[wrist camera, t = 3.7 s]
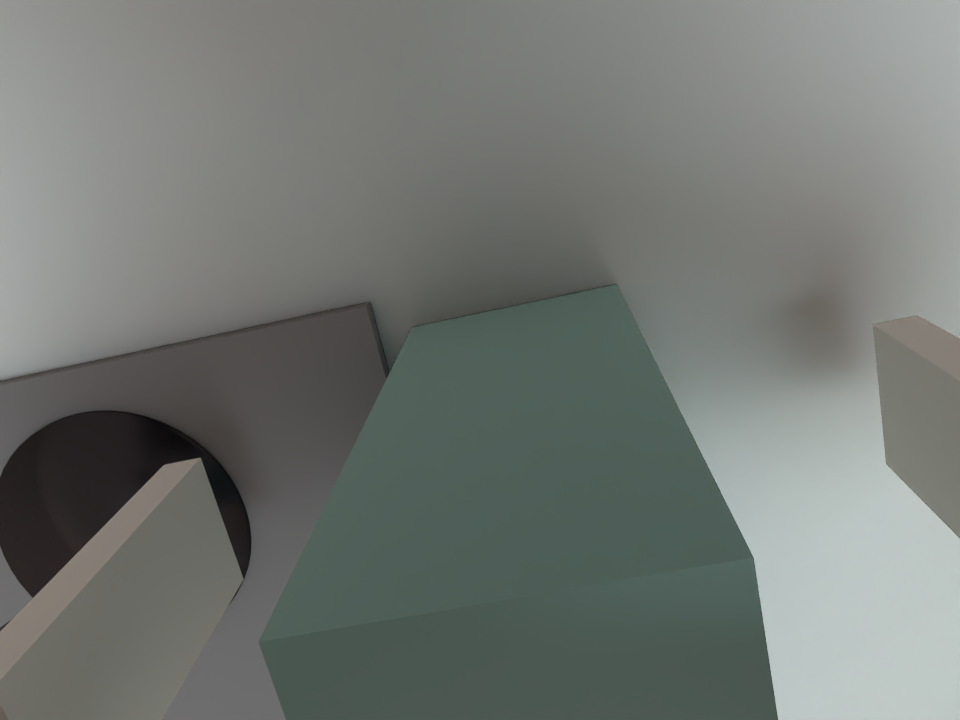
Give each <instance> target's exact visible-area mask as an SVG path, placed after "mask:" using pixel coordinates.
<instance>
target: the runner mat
mask: <svg viewBox="0 0 960 720" xmlns="http://www.w3.org/2000/svg"><path fill="white" fill-rule="evenodd" d="M388 375H389V371H388V367H387V364H386V360H385V356H384V353H383V349H382V345H381V342H380V338H379V334H378V331H377V327H376V323H375V320H374V316H373V312H372V309H371V305H370V302H367V303H362V304H358V305H353V306H348V307H344V308H339V309H335V310H330V311H325V312H321V313H316V314H311V315H307V316H302V317H297V318H293V319H288V320H283V321H279V322H274V323H270V324H265V325H260V326H256V327H251V328H246V329H242V330H237V331H232V332H228V333H223V334H219V335H214V336H209V337H205V338H200V339H195V340H191V341H186V342H181V343H177V344H172V345H167V346H163V347H158V348H154V349H149V350H144V351H140V352H135V353H130V354H126V355H121V356H116V357H112V358H107V359H103V360H98V361H93V362H89V363H84V364H79V365H75V366H70V367H65V368H61V369H56V370H52V371H47V372H42V373H38V374H33V375H28V376H24V377H19V378H14V379H10V380H5V381H0V476H1V473H2V471H3V469H4V467H5V465H6V464H7V462H8V460H9V458H10V457H11V455H12V454H13V453H14V452H15V451H16V449H17V448H18V447H19V446H20V445H21V444H22V443H23V442H24V441H25V440H27V439H28V438H29V437H30V436H31V435H32V434H34V433H35V432H37V431H38V430H40V429H42V428H43V427H45V426H46V425H48V424H50V423H52V422H54V421H56V420H59V419H61V418H63V417H67V416H70V415H74V414H77V413H82V412H90V411H111V410H113V411H122V412H130V413H134V414H139V415H143V416H147V417H150V418H153V419H155V420H158V421H161V422H164V423H166V424H168V425H170V426H172V427H174V428H176V429H178V430H180V431H181V432H183V433H184V434H186V435H187V436H189V437H191V438H192V439H194V440H195V441H196V442H198V443H199V444H200V445H201V446H202V447H204V448H205V449H206V450H207V451H208V452H209V453H210V454H211V455H212V456H213V457H214V458H215V459H216V460H217V461H218V462H219V463H220V464H221V465H222V467H223V468H224V469H225V471H226V472H227V473H228V475H229V476H230V477H231V479H232V480H233V482H234V484H235V486H236V487H237V489H238V491H239V493H240V495H241V498H242V500H243V502H244V505H245V507H246V511H247V515H248V518H249V522H250V530H251V556H250V562H249V567H248V570H247V573H246V576H245V579H244V581H243V583H242V585H241V587H240V589H239V591H238V593H237V594H236V596H235V598H234V599H233V600H232V602H231V603H230V604H229V606H228V607H227V609H226V610H225V612H224V614H223V616H222V617H221V619H220V621H219V622H218V624H217V626H216V628H215V629H214V631H213V633H212V634H211V636H210V638H209V640H208V641H207V643H206V645H205V646H204V648H203V650H202V652H201V653H200V655H199V657H198V658H197V660H196V662H195V664H194V665H193V667H192V669H191V670H190V672H189V674H188V676H187V677H186V679H185V681H184V682H183V684H182V686H181V688H180V689H179V691H178V693H177V694H176V696H175V698H174V700H173V701H172V703H171V705H170V706H169V708H168V710H167V712H166V713H165V715H164V717H163V718H162V720H286V718H285V715H284V713H283V710H282V707H281V704H280V701H279V699H278V696H277V693H276V690H275V687H274V685H273V682H272V679H271V676H270V673H269V671H268V668H267V665H266V662H265V659H264V657H263V654H262V651H261V648H260V645H259V643H258V641H259V639H260V637H261V635H262V633H263V631H264V629H265V627H266V625H267V623H268V621H269V619H270V617H271V615H272V613H273V610H274V608H275V606H276V604H277V602H278V600H279V598H280V596H281V594H282V592H283V590H284V588H285V586H286V584H287V582H288V580H289V578H290V576H291V574H292V572H293V570H294V567H295V565H296V563H297V561H298V559H299V557H300V555H301V553H302V551H303V549H304V547H305V545H306V543H307V541H308V539H309V537H310V535H311V533H312V531H313V529H314V527H315V524H316V522H317V520H318V518H319V516H320V514H321V512H322V510H323V508H324V506H325V504H326V502H327V500H328V498H329V496H330V494H331V492H332V490H333V488H334V486H335V484H336V481H337V479H338V477H339V475H340V473H341V471H342V469H343V467H344V465H345V463H346V461H347V459H348V457H349V455H350V453H351V451H352V449H353V447H354V445H355V443H356V441H357V438H358V436H359V434H360V432H361V430H362V428H363V426H364V424H365V422H366V420H367V418H368V416H369V414H370V412H371V410H372V408H373V406H374V404H375V402H376V400H377V398H378V395H379V393H380V391H381V389H382V387H383V385H384V383H385V381H386V379H387V377H388ZM32 599H33V598H32V597H31V596H30V594H29V593H28V592H27V591H26V590H25V589H24V587H23V586H22V585H21V584H20V583H19V581H18V580H17V578H16V577H15V575H14V574H13V572H12V571H11V569H10V567H9V565H8V563H7V561H6V559H5V557H4V555H3V552H2V550H1V547H0V628H1V627H2V626H3V625H4V624H6V623H7V622H9V621H10V620H12V619H13V618H14V617H15V616H16V615H17V614H18V613H19V612H20V611H21V610H22V609H23V608H24V607H25V606H26V605H27V604H28V603H29V602H30V601H31V600H32Z"/></svg>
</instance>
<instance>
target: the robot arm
mask: <svg viewBox="0 0 960 720" xmlns="http://www.w3.org/2000/svg"><path fill="white" fill-rule="evenodd" d="M873 331H874V341H875V352H876V362H877V373H878V383H879V394H880V404H881V415H882V425H883V436H884V446H885V457H886V464H887V465H888V466H889V467H890V468H891V469H892V470H893V471H894V472H895V473H896V474H897V475H898V477H899V478H900V479H901V480H902V481H903V482H904V483H905V484H906V485H907V486H908V487H909V488H910V489H911V490H912V491H913V492H914V493H915V494H916V495H917V496H918V497H919V498H920V499H921V500H922V501H923V502H924V503H925V504H926V505H927V506H928V507H929V508H930V509H931V510H932V511H933V512H934V513H935V514H936V515H937V516H938V517H939V518H940V519H941V520H942V521H943V522H944V523H945V524H946V525H947V526H948V527H949V528H950V529H951V530H952V531H953V532H954V533H955V534H956V535H957V536H958V537H959V538H960V339H959V338H957V337H956V336H954V335H952V334H950V333H948V332H947V331H945V330H943V329H941V328H939V327H937V326H936V325H934V324H932V323H930V322H928V321H927V320H925V319H923V318H921V317H919V316H913V317H908V318H903V319H897V320H892V321H887V322H882V323H877V324H873ZM242 581H243V576H242V573H241V570H240V567H239V565H238V562H237V559H236V556H235V553H234V550H233V548H232V545H231V542H230V539H229V536H228V534H227V531H226V528H225V525H224V522H223V519H222V517H221V514H220V511H219V508H218V505H217V502H216V500H215V497H214V494H213V491H212V488H211V485H210V483H209V480H208V477H207V474H206V471H205V468H204V466H203V463H202V460H201V458H196V459H191V460H186V461H181V462H176V463H171V464H166V465H163V466H162V467H161V468H160V469H159V470H158V471H157V472H156V473H155V475H154V476H153V477H152V478H151V479H150V480H149V481H148V482H147V483H146V484H145V485H144V486H143V487H142V488H141V489H140V490H139V491H138V492H137V493H136V494H135V495H134V496H133V497H132V498H131V499H130V500H129V501H128V502H127V503H126V504H125V505H124V506H123V507H122V508H121V509H120V510H119V511H118V512H117V513H116V514H115V515H114V516H113V517H112V518H111V519H110V520H109V521H108V522H107V523H106V524H105V525H104V526H103V527H102V528H101V529H100V531H99V532H98V533H97V534H96V535H95V536H94V537H93V538H92V539H91V540H90V541H89V542H88V543H87V544H86V545H85V546H84V547H83V548H82V549H81V550H80V551H79V552H78V553H77V554H76V555H75V556H74V557H73V558H72V559H71V560H70V561H69V562H68V563H67V564H66V565H65V566H64V567H63V568H62V569H61V570H60V571H59V572H58V573H57V574H56V575H55V576H54V577H53V578H52V579H51V580H50V581H49V582H48V583H47V584H46V585H45V587H44V588H43V589H42V590H41V591H40V592H39V593H38V594H37V595H36V596H35V597H34V598H33V599H32V600H31V601H30V602H29V603H28V604H27V605H26V606H25V607H24V608H23V609H22V610H21V611H20V612H19V613H18V614H17V615H16V616H15V617H14V618H13V619H12V620H10V621H9V622H7V623H6V624H4V625H3V626H2V627H1V628H0V720H162V718H163V717H164V715H165V713H166V712H167V710H168V708H169V706H170V705H171V703H172V701H173V700H174V698H175V696H176V694H177V693H178V691H179V689H180V688H181V686H182V684H183V682H184V681H185V679H186V677H187V676H188V674H189V672H190V670H191V669H192V667H193V665H194V664H195V662H196V660H197V658H198V657H199V655H200V653H201V652H202V650H203V648H204V646H205V645H206V643H207V641H208V640H209V638H210V636H211V634H212V633H213V631H214V629H215V628H216V626H217V624H218V622H219V621H220V619H221V617H222V616H223V614H224V612H225V610H226V609H227V607H228V605H229V604H230V602H231V600H232V598H233V597H234V595H235V593H236V592H237V590H238V588H239V586H240V585H241V583H242Z"/></svg>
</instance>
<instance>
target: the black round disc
mask: <svg viewBox="0 0 960 720" xmlns="http://www.w3.org/2000/svg"><path fill="white" fill-rule="evenodd" d="M196 458H201V460H202V463H203V466H204V468H205V471H206V474H207V477H208V480H209V483H210V485H211V488H212V491H213V494H214V497H215V500H216V502H217V505H218V508H219V511H220V514H221V517H222V519H223V522H224V525H225V528H226V531H227V534H228V536H229V539H230V542H231V545H232V548H233V550H234V553H235V556H236V559H237V562H238V565H239V567H240V570H241V573H242V576H243V581H244V579H245V576H246V573H247V570H248V567H249V562H250V556H251V530H250V522H249V518H248V515H247V511H246V507H245V505H244V502H243V500H242V498H241V495H240V493H239V491H238V489H237V487H236V486H235V484H234V482H233V480H232V479H231V477H230V476H229V475H228V473H227V472H226V471H225V469H224V468H223V467H222V465H221V464H220V463H219V462H218V461H217V460H216V459H215V458H214V457H213V456H212V455H211V454H210V453H209V452H208V451H207V450H206V449H205V448H204V447H202V446H201V445H200V444H199V443H198V442H196V441H195V440H194V439H192V438H191V437H189V436H187V435H186V434H184V433H183V432H181V431H180V430H178V429H176V428H174V427H172V426H170V425H168V424H166V423H164V422H161V421H158V420H155V419H153V418H150V417H147V416H143V415H139V414H134V413H130V412H122V411H113V410H111V411H90V412H82V413H77V414H74V415H70V416H67V417H63V418H61V419H59V420H56V421H54V422H52V423H50V424H48V425H46V426H45V427H43V428H42V429H40V430H38V431H37V432H35V433H34V434H32V435H31V436H30V437H29V438H28V439H27V440H25V441H24V442H23V443H22V444H21V445H20V446H19V447H18V448H17V449H16V451H15V452H14V453H13V454H12V455H11V457H10V458H9V460H8V462H7V464H6V465H5V467H4V469H3V471H2V473H1V476H0V547H1V550H2V552H3V555H4V557H5V559H6V561H7V563H8V565H9V567H10V569H11V571H12V572H13V574H14V575H15V577H16V578H17V580H18V581H19V583H20V584H21V585H22V586H23V587H24V589H25V590H26V591H27V592H28V593H29V594H30V596H31V597H32V598H34V597H35V596H36V595H37V594H38V593H39V592H40V591H41V590H42V589H43V588H44V587H45V585H46V584H47V583H48V582H49V581H50V580H51V579H52V578H53V577H54V576H55V575H56V574H57V573H58V572H59V571H60V570H61V569H62V568H63V567H64V566H65V565H66V564H67V563H68V562H69V561H70V560H71V559H72V558H73V557H74V556H75V555H76V554H77V553H78V552H79V551H80V550H81V549H82V548H83V547H84V546H85V545H86V544H87V543H88V542H89V541H90V540H91V539H92V538H93V537H94V536H95V535H96V534H97V533H98V532H99V531H100V529H101V528H102V527H103V526H104V525H105V524H106V523H107V522H108V521H109V520H110V519H111V518H112V517H113V516H114V515H115V514H116V513H117V512H118V511H119V510H120V509H121V508H122V507H123V506H124V505H125V504H126V503H127V502H128V501H129V500H130V499H131V498H132V497H133V496H134V495H135V494H136V493H137V492H138V491H139V490H140V489H141V488H142V487H143V486H144V485H145V484H146V483H147V482H148V481H149V480H150V479H151V478H152V477H153V476H154V475H155V473H156V472H157V471H158V470H159V469H160V468H161V467H162V466H163V465H166V464H171V463H176V462H181V461H186V460H191V459H196ZM243 581H242V583H243ZM242 583H241V585H242ZM241 585H240V586H239V588H238V590H237V592H236V593H235V595H234V597H233V598H232V600H233V599H234V598H235V596H236V594H237V593H238V591H239V589H240V587H241ZM232 600H231V602H232ZM231 602H230V603H231ZM228 606H229V605H228Z"/></svg>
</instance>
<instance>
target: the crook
mask: <svg viewBox="0 0 960 720" xmlns="http://www.w3.org/2000/svg"><path fill="white" fill-rule="evenodd" d="M258 643H259V645H260V648H261V651H262V654H263V657H264V659H265V662H266V665H267V668H268V671H269V673H270V676H271V679H272V682H273V685H274V687H275V690H276V693H277V696H278V699H279V701H280V704H281V707H282V710H283V713H284V715H285V718H286V720H778V717H777V710H776V704H775V697H774V690H773V684H772V677H771V671H770V664H769V657H768V651H767V644H766V637H765V631H764V624H763V618H762V611H761V604H760V598H759V591H758V584H757V578H756V571H755V565H754V558H753V556H752V554H751V552H750V550H749V548H748V546H747V544H746V542H745V540H744V538H743V536H742V534H741V532H740V530H739V528H738V526H737V524H736V522H735V520H734V518H733V516H732V514H731V512H730V510H729V508H728V506H727V504H726V502H725V500H724V498H723V496H722V494H721V492H720V490H719V488H718V486H717V484H716V482H715V480H714V478H713V476H712V474H711V472H710V470H709V468H708V466H707V464H706V462H705V460H704V458H703V456H702V454H701V452H700V450H699V448H698V446H697V444H696V442H695V440H694V438H693V436H692V434H691V432H690V430H689V428H688V426H687V424H686V422H685V420H684V418H683V416H682V414H681V412H680V410H679V408H678V406H677V404H676V402H675V400H674V398H673V396H672V394H671V392H670V390H669V388H668V386H667V384H666V382H665V380H664V378H663V376H662V374H661V372H660V370H659V368H658V366H657V364H656V362H655V360H654V358H653V356H652V354H651V352H650V350H649V348H648V346H647V344H646V342H645V340H644V338H643V336H642V334H641V332H640V330H639V328H638V326H637V324H636V322H635V320H634V318H633V316H632V314H631V312H630V310H629V308H628V306H627V304H626V302H625V300H624V298H623V296H622V294H621V292H620V290H619V288H618V286H617V284H615V285H611V286H606V287H601V288H596V289H592V290H587V291H582V292H577V293H573V294H568V295H563V296H558V297H554V298H549V299H544V300H539V301H535V302H530V303H525V304H520V305H516V306H511V307H506V308H501V309H497V310H492V311H487V312H483V313H478V314H473V315H468V316H464V317H459V318H454V319H449V320H445V321H440V322H435V323H430V324H426V325H421V326H416V327H412V328H411V330H410V332H409V334H408V336H407V338H406V340H405V342H404V344H403V346H402V348H401V350H400V352H399V355H398V357H397V359H396V361H395V363H394V365H393V367H392V369H391V371H390V373H389V375H388V377H387V379H386V381H385V383H384V385H383V387H382V389H381V391H380V393H379V395H378V398H377V400H376V402H375V404H374V406H373V408H372V410H371V412H370V414H369V416H368V418H367V420H366V422H365V424H364V426H363V428H362V430H361V432H360V434H359V436H358V438H357V441H356V443H355V445H354V447H353V449H352V451H351V453H350V455H349V457H348V459H347V461H346V463H345V465H344V467H343V469H342V471H341V473H340V475H339V477H338V479H337V481H336V484H335V486H334V488H333V490H332V492H331V494H330V496H329V498H328V500H327V502H326V504H325V506H324V508H323V510H322V512H321V514H320V516H319V518H318V520H317V522H316V524H315V527H314V529H313V531H312V533H311V535H310V537H309V539H308V541H307V543H306V545H305V547H304V549H303V551H302V553H301V555H300V557H299V559H298V561H297V563H296V565H295V567H294V570H293V572H292V574H291V576H290V578H289V580H288V582H287V584H286V586H285V588H284V590H283V592H282V594H281V596H280V598H279V600H278V602H277V604H276V606H275V608H274V610H273V613H272V615H271V617H270V619H269V621H268V623H267V625H266V627H265V629H264V631H263V633H262V635H261V637H260V639H259V641H258Z"/></svg>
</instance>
